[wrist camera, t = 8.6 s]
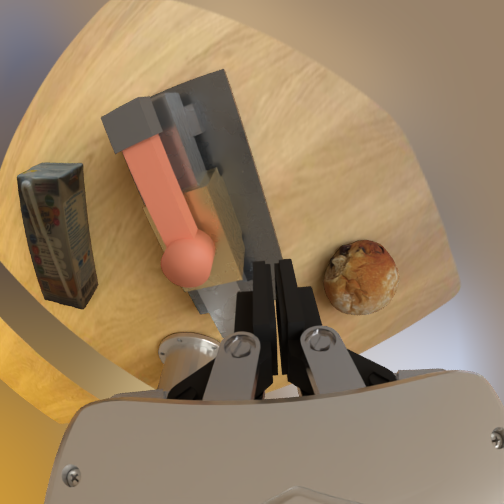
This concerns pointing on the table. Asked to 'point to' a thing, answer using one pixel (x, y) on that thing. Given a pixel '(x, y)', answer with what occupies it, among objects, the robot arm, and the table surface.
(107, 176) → the table surface
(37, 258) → the beverage carton
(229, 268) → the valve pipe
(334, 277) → the bread roll
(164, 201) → the lever
